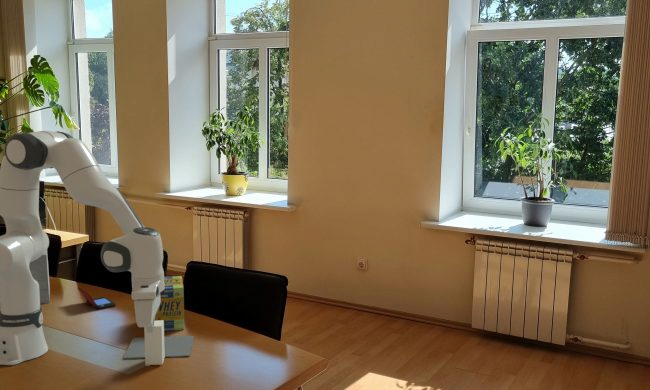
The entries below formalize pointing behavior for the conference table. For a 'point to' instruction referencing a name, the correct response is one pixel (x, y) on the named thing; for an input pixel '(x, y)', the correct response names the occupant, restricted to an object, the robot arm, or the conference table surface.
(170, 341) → the mat
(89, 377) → the conference table surface
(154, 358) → the tall block
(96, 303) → the handheld game console
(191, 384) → the conference table surface
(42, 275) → the hard drive box
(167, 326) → the protein box
